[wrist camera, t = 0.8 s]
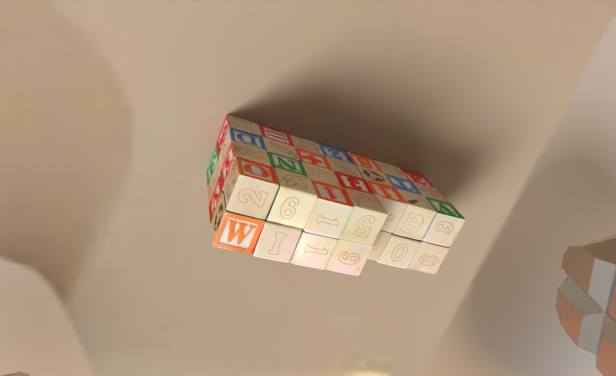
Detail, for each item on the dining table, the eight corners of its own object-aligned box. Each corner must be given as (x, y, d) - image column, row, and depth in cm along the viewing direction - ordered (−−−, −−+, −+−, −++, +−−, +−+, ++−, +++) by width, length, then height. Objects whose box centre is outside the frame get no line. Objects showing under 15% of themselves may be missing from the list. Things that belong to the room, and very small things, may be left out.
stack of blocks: (425, 173, 55) (484, 239, 45) (399, 224, 58) (449, 298, 47) (225, 112, 48) (238, 174, 37) (203, 173, 50) (211, 248, 39)
